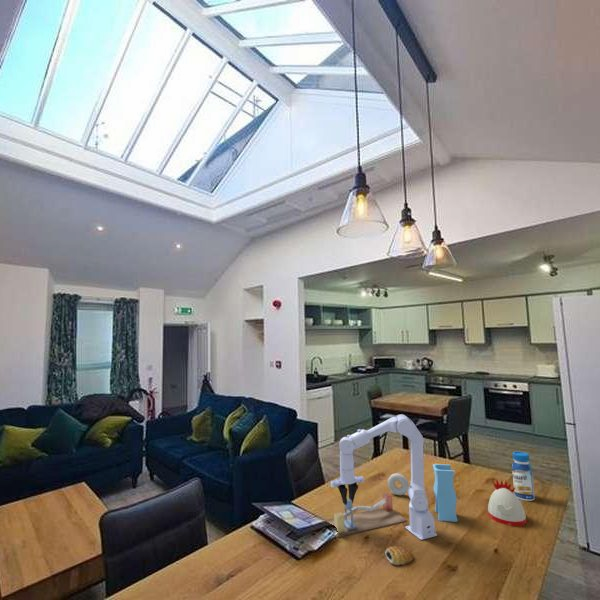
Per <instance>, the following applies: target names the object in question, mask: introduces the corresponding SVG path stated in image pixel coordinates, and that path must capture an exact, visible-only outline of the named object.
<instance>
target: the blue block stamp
mask: <svg viewBox="0 0 600 600" xmlns="http://www.w3.org/2000/svg"><path fill="white" fill-rule="evenodd" d="M343 505H344V506H343V507H344V509H343V510H344V513H345V512H347V511H348V510H349V511H350V512H351V520H347V517H346V518H345V521H344V524H345V527H346V528H347V529H348V530H351V529H355V528H357V526H356V525H355V524H354V523H353V514H354V513H353V510H351V509H352V508H353V507H354V506H353V503H352V500H350V499H349V498H347V505H345V504H344V503H343Z"/></svg>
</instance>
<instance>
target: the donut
mask: <svg viewBox="0 0 600 600" xmlns="http://www.w3.org/2000/svg"><path fill="white" fill-rule="evenodd" d="M396 482H399V483H400V484H401V486H400V487H397V486H396V484H395V483H396ZM387 486H388V488H389V490H390V491H391V493H392V494H394V495H395V496H396V495H397V496H404V495H405V494H407V493H408V489H409V487H410V484H409V481H408V479H407V478H406V477H405V476H404V475H403V474H402V473H397V472H396V473H392V474H391V475H390V476H389V477H388V479H387Z"/></svg>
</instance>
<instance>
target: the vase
mask: <svg viewBox="0 0 600 600" xmlns="http://www.w3.org/2000/svg"><path fill="white" fill-rule="evenodd" d="M432 467H433V471H434V483H433V488H432V489H433V492H434V493H433V494H434V496H435V497H434V498H435V508H434V512H435V513H438V514H437V515H438V516H437V521H440V522H441V521H443V522H456V523H457V522H458V517H457V510H456V509H457V508H456V505H457V500H458V498H457V493H456V491H455V488H454V475H455V470H451V468H452V465H451V464H444V463H443V464H442V463H433V464H432Z"/></svg>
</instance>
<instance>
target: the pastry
mask: <svg viewBox="0 0 600 600" xmlns="http://www.w3.org/2000/svg"><path fill="white" fill-rule="evenodd" d="M413 553H414V552H413V551H412V550H411V549H409V548H408V547H403V546H396V545H394V546H389V547H387V548H386V550H385V552H384V555H385V559H387V560H388V562H389V563H390V564H392V565H394V566H400V565H401V566H403V565H406V564H408V563H410V562H412V561H413V560H414V554H413Z"/></svg>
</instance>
